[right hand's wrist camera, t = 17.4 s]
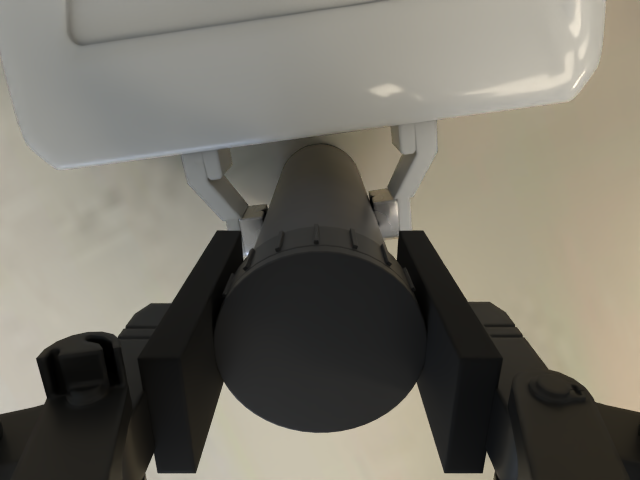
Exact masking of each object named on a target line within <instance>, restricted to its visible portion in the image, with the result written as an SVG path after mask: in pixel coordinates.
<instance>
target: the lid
mask: <svg viewBox="0 0 640 480" xmlns="http://www.w3.org/2000/svg"><path fill="white" fill-rule="evenodd" d="M414 291H416V290H415V287H414V285H413V283H412V280H411V278H410V276H409V273H408V271H407V269H406V268H403V269H402V267H401V265H400V264H399V263H398V262H397V260H396V259H395V258H394V257H393V256H392V255H391V254H390V253H389V252H388V251H387V248H386V246H385V245H384V244H381V245H379V244H378V243H376V242H375V241H373V240H371V239H369V238H368V237H366V236H364V235H361V234H359V233H356V232H355V229H352V228H350V230H346V229H342V228H336V227H327V226H319V224H314V226H312V227H305V228H298V229H295V230H291V231H287V232H283V230H282V231H280V232H279V234H278V235H277V236H275V237H273V238H271V239H269V240H268V241H266V242H264V243H263V244H261V245H260V246H259V247H257V248H256V249H255V250H254V249H253V248H252V249H250V251H249V253H248V256H247V257H246V259H245V260H244V261H243V262H242V264H241V265H240V266H239V268H238V269H237V271H236V273H235V274H233V273H232V274H231V276H230V278H229V280H228V282H227V285H226V287H225V289H224V292H223V294H222V297H223V298H224V300H223V303H222V305H221V308H220V310H219V313H218V316H217V319H216V322H215V327H214V332H213V340H214V351H215V360H216V364H217V368H218V370H219V372H220V375H221V377H222V379H223V381H224V382H225V384H226V386H227V387H228V389H229V390H230V391H231V393H232V394H233V395H234V396H235V397H236V399H237V400H238V401H240V402H241V403H242V404H243V405H244V406H245V407H246V408H247V409H249V410H250V411H252V412H253V413H254V414H256V415H258V416H259V417H261V418H263V419H265V420H266V421H269V422H271V423H273V424H276V425H278V426H282V427H285V428H288V429H292V430H297V431H302V432H313V433H329V432H337V431H344V430H348V429H353V428H356V427H359V426H362V425H365V424H367V423H370V422H372V421H374V420H376V419H378V418H380V417H381V416H383V415H385V414H386V413H388V412H389V411H390V410H392V409H393V408H394V407H396V406H397V405H398V404H399V403H400V402H401V401H402V400H403V399H404V398H405V397H406V396H407V395H408V393H409V392H410V391H411V389H412V388H413V387H414V385H415V383H416V382H417V380H418V378H419V376H420V374H421V371H422V369H423V366H424V362H425V354H426V344H427V329H426V324H425V320H424V317H423V314H422V312H421V309H420V307H419V304H418V302H417V299H416V297H415V295H414Z"/></svg>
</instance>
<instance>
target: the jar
mask: <svg viewBox="0 0 640 480" xmlns="http://www.w3.org/2000/svg"><path fill="white" fill-rule="evenodd" d="M314 224H319V226H327V227H336V228H342V229H346V230H350V228H352V229H355V232H356V233H359V234H361V235H364V236H366V237H368V238H369V239H371V240H373V241H375V242H376V243H378V244H379V245H381V244H384V245H385V242H384V239H383V237H382V234H381V231H380V229H379V226H378V223H377V220H376V218H375V215H374V212H373V209H372V207H371V204H370V201H369V198H368V196H367V193H366V190H365V187H364V185H363V182H362V179H361V176H360V174H359V171H358V169H357V166H356V165H355V163H354V161H353V160H352V159H351V157H349V156H348V155H347V154H346V153H345V152H344V151H342V150H340V149H338V148H336V147H334V146H330V145H324V144H316V145H310V146H307V147H304V148H302V149H300V150H299V151H297V152H296V153H294V154H293V155H292V156H291V157H290V158H289V159H288V161H287V162H286V164H285V166H284V168H283V170H282V173H281V176H280V178H279V181H278V184H277V186H276V189H275V192H274V195H273V197H272V200H271V203H270V206H269V208H268V211H267V214H266V217H265V219H264V222H263V225H262V228H261V230H260V233H259V236H258V239H257V241H256V244H255V247H254V250H255V249H256V248H257V247H259V246H260V245H261V244H263V243H264V242H266V241H268V240H269V239H271V238H273V237H275V236H277V235H278V234H279V232H280V231H282V230H283V232H287V231H291V230H295V229H298V228H305V227H312V226H314ZM385 246H386V245H385ZM387 251H388V250H387Z"/></svg>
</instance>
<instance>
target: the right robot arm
mask: <svg viewBox="0 0 640 480" xmlns="http://www.w3.org/2000/svg"><path fill="white" fill-rule="evenodd" d="M242 262H243V248H242V233H241V231H217V232H216V233H215V235H214V236H213V238H212V240H211V241H210V243H209V244H208V246H207V248H206V249H205V251H204V252H203V254H202V256H201V257H200V259H199V260H198V262H197V264H196V265H195V267H194V268H193V270H192V272H191V273H190V275H189V276H188V278H187V280H186V281H185V283H184V284H183V286H182V288H181V289H180V291H179V292H178V294H177V296H176V297H175V299H174V300H173V302H172V303H151V304H149V305H148V306H146V307H145V308H143V309H142V310H140V311H139V312H137V313H136V314H134V316H133V317H132V318H131V320H130V321H129V322H128V324H127V325H126V328H125V329H123V330H122V332H121V333H120V334H119V336H118V338H117V337H116V336H115V335H113V334H110V333H106V332H86V333H81V334H77V335H72V336H70V337H67V338H65V339H62V340H59V341H57V342H55V343H54V344H52V345H51V346H49V347H48V348H46V349H44V350H43V352H42V353H41V354H40V355H39V356H38V357H37V358H36V360H37V363H38V367H39V371H40V374H41V378H42V382H43V385H44V389H45V392H46V396H47V400H46V402H45V404H44V405H40V406H37V407H33V408H28V409H23V410H19V411H14V412H9V413H4V414H0V480H147V479H146V474H145V472H146V470H147V468H148V465H149V463H150V461H151V458H152V456H153V454H154V456H155V461H156V467H157V472H158V473H196V471H197V468H198V464H199V461H200V458H201V455H202V451H203V448H204V445H205V442H206V438H207V435H208V432H209V428H210V425H211V422H212V419H213V415H214V412H215V409H216V405H217V402H218V399H219V396H220V392H221V389H222V386H223V382H224V381H223V379H222V377H221V375H220V372H219V370H218V368H217V364H216V360H215V351H214V340H213V332H214V327H215V322H216V319H217V316H218V313H219V310H220V308H221V305H222V303H223V300H224V298H223V297H222V294H223V292H224V289H225V287H226V285H227V282H228V280H229V278H230V276H231V274H232V273H233V274H235V273H236V271H237V269H238V268H239V266H240V265H241V264H242ZM397 262H398V263H399V264H400V265H401V267H402V269H403V268H406V269H407V271H408V273H409V276H410V278H411V280H412V283H413V285H414V287H415V290H416V291H414V295H415V297H416V299H417V302H418V304H419V307H420V309H421V312H422V314H423V317H424V320H425V324H426V329H427V344H426V354H425V362H424V366H423V369H422V371H421V374H420V376H419V378H418V380H417V385H418V388H419V391H420V395H421V398H422V401H423V404H424V408H425V411H426V414H427V418H428V421H429V424H430V427H431V431H432V434H433V437H434V441H435V444H436V447H437V450H438V454H439V457H440V460H441V464H442V467H443V470H444V473H483V468H484V463H485V457H486V452H487V453H488V455H489V458H490V460H491V462H492V464H493V467H494V469H495V474H494V479H493V480H640V412H636V411H631V410H626V409H622V408H617V407H612V406H607V405H604V404H600V403H596V402H595V401H594V399H593V397H592V396H591V394H590V393H589V392H588V390H587V389H586V388H585V387H584V386H583V385H581V384H580V383H578V382H577V381H576V380H574V379H573V378H571V377H568V376H566V375H564V374H562V373H560V372H556V371H552V370H549V369H548V368H547V367H546V365H545V364H544V363H543V361H542V360H541V359H540V357H539V356H538V355H537V353H536V352H535V351H534V349H533V348H532V347H531V345H530V344H529V343H528V341H527V340H526V339H525V338H523V335H522V333H521V332H520V331H519V329H518V328H517V327H515V324H514V323H513V321H512V320H511V319H510V317H509V316H508V315H507V314H506V312H504V311H503V310H501V309H500V308H498V307H497V306H495V305H494V304H492V303H490V302H468V301H467V300H466V298H465V297H464V295H463V293H462V292H461V290H460V289H459V287H458V285H457V284H456V282H455V281H454V279H453V277H452V276H451V274H450V273H449V271H448V269H447V268H446V266H445V265H444V263H443V261H442V260H441V258H440V257H439V255H438V253H437V252H436V250H435V249H434V247H433V245H432V244H431V242H430V241H429V239H428V237H427V236H426V234H425V233H424V231H399V237H398V252H397Z"/></svg>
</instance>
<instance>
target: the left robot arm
mask: <svg viewBox="0 0 640 480" xmlns="http://www.w3.org/2000/svg"><path fill="white" fill-rule="evenodd" d="M605 12H606V0H0V57H1V62H2V66H3V70H4V74H5V78H6V82H7V86H8V90H9V94H10V97H11V101H12V105H13V108H14V112H15V115H16V118H17V122H18V125H19V128H20V131H21V133H22V136H23V139H24V141H25V143H26V145H27V146H28V147H29V148H30V149H31V150H32V151H33V152H35V153H36V154H37V155H38V156H39V157H40V158H42V159H43V160H44V161H45V162H47V163H48V164H49V165H51V166H52V167H53V168H55V169H57V170H69V169H77V168H84V167H91V166H99V165H106V164H114V163H121V162H128V161H136V160H143V159H151V158H158V157H166V156H173V155H180V154H181V158H182V162H183V166H184V170H185V174H186V179H187V183H188V185H189V186H190V187H191V188H192V189H193V190H194V191H195V192H196V193H197V194H198V195H199V196H200V197H201V198H202V199H203V201H204V202H205V203H206V204H207V205H208V206H209V207H210V208H211V209H212V210H213V211H214V212H215V213H216V214H217V215H218V217H219V218H220V219H221V220H222V221H226V223H227V228H228V231H241V233H242V248H243V258H245V257H247V256H248V253H249V251H250V249H252V248H253V249H254V247H255V244H256V241H257V239H258V236H259V233H260V230H261V228H262V225H263V222H264V219H265V217H266V214H267V211H268V207H267V204H263V205H254V206H248V204H247V203H246V202H245V200H244V199H243V198H242V197H241V195H240V194H239V193H238V192H237V191H236V189H235V188H234V187H233V186H232V184H231V183H230V182H229V181H228V180H227V178H226V177H225V176H224V174H225V173H226V172H227V171H228V169H229V168H230V167H231V166H232V165H233V164H232V159H231V154H230V149H229V148H232V147H240V146H247V145H255V144H262V143H269V142H277V141H284V140H292V139H299V138H307V137H314V136H321V135H329V134H336V133H344V132H351V131H359V130H366V129H373V128H381V127H388V126H391V136H392V144H393V145H394V146H395V147H396V148H397V149H398V150H399V151H400V152H401V153H402V156H401V158H400V160H399V163H398V165H397V167H396V169H395V171H394V174H393V176H392V178H391V180H390V182H389V184H388V188H386V189H379V190H373V191H369V200H370V204H371V207H372V209H373V212H374V215H375V218H376V220H377V223H378V226H379V229H380V231H381V234H382V237H383V239H384V240H390V239H398V237H399V231H412V218H411V201H410V197H414V195H415V193H416V191H417V189H418V187H419V186H420V184H421V182H422V180H423V178H424V176H425V174H426V172H427V171H428V169H429V167H430V165H431V163H432V161H433V159H434V157H435V156H436V154H437V152H438V144H437V120H440V119H448V118H455V117H462V116H470V115H477V114H485V113H492V112H500V111H507V110H514V109H522V108H529V107H537V106H544V105H551V104H558V103H566V102H569V101H571V100H573V99H574V98H575V97H576V96H577V95H578V94H579V92H580V91H581V90H582V89H583V87H584V86H585V85H586V83H587V82H588V81H589V79H590V78H591V76H592V75H593V74H594V72H595V71H596V69H597V67H598V65H599V62H600V58H601V54H602V47H603V38H604V27H605Z"/></svg>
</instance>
